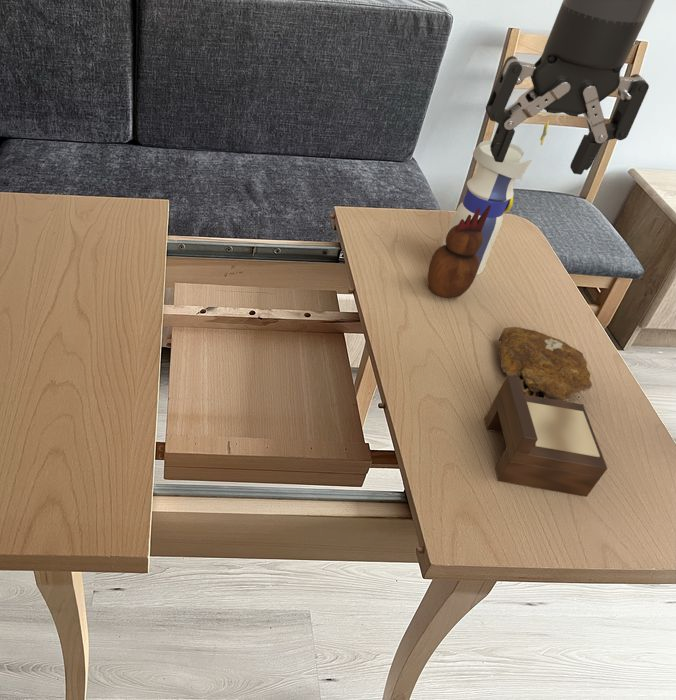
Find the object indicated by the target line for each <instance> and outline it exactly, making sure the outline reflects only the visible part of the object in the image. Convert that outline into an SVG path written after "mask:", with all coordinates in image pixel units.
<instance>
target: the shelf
mask: <svg viewBox="0 0 676 700" xmlns="http://www.w3.org/2000/svg"><path fill="white" fill-rule="evenodd" d="M484 424H485V428H486V430H487V431H490V432H495V433H501V434H502V435H503V439H504V443H505V447H506V448H505V450H504V452H503V454H502V455H501V457H500V459H499V460H498V462H497V465H496V466H495V472H496V479H497V481H498V482H501V483H506V484H513V485H519V486H524V487H529V488H535V489H541V490H546V491H552V492H558V493H564V494H569V495H574V496H581V497H588V496H589V495H590V493H591V492H592V490H593V489H594V488H595V487H596V485H597V484H598V482H599V481H600V479H601V478H602V477H603V475H604V474H605V473H606V472H607V470H608V466H607V464H606V460H605V458H604V455H603V452H602V450H601V447H600V445H599V442H598V440H597V436H596V434H595V432H594V429H593V427H592V424H591V422H590V419H589V416H588V414H587V411H586V409H585V406H584V403H583V404H582V403H578V402H571V401H560V400H554V399H548V398H544V397H541V396H537V397H536V396H530V395H526V393H525V392H524V391H523V387H522V384H521V379H520V377H515V376H509V375H507V374H506V377H505V378H504V380H503V382H502V384H501V386H500V388H499V390H498V391H497V393H496V396H495V397H494V400H493V401H492V404H491V405H490V407H489V409H488V411H487V413H486V414H485V416H484Z"/></svg>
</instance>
